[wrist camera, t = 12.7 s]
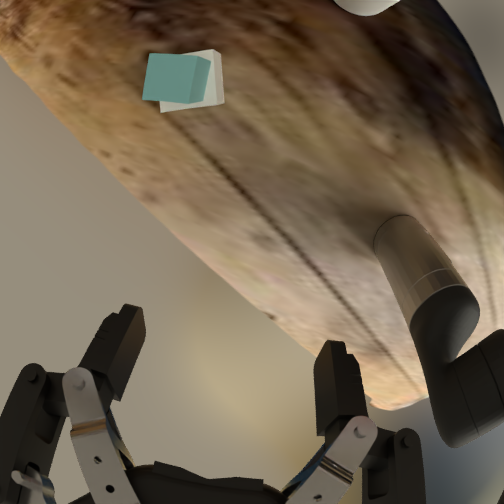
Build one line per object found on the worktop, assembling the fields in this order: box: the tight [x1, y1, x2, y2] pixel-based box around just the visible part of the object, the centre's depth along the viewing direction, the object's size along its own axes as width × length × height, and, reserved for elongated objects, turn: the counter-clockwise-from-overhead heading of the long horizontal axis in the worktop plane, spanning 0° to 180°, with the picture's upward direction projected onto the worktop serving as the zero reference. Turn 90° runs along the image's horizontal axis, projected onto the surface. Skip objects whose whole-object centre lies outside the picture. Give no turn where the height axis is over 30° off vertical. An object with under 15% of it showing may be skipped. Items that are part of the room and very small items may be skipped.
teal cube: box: [142, 53, 211, 104], centre depth 25 cm, size 5×5×6 cm
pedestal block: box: [160, 49, 224, 113], centre depth 30 cm, size 7×7×5 cm
